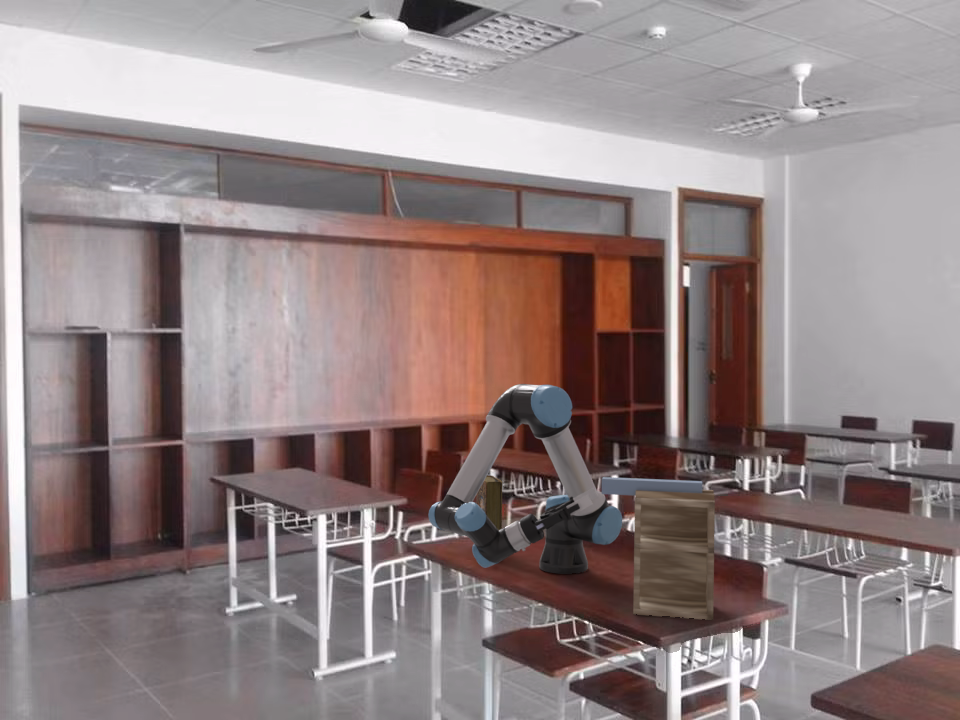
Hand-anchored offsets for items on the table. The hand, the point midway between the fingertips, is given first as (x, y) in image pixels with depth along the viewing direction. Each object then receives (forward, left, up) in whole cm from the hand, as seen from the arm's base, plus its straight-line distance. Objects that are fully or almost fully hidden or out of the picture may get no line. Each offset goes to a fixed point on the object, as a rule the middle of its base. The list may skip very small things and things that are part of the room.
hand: (593, 495), depth 240 cm
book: (-56, -41, -29) cm, 75 cm away
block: (-1, +15, +1) cm, 15 cm away
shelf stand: (-1, +21, -29) cm, 36 cm away
